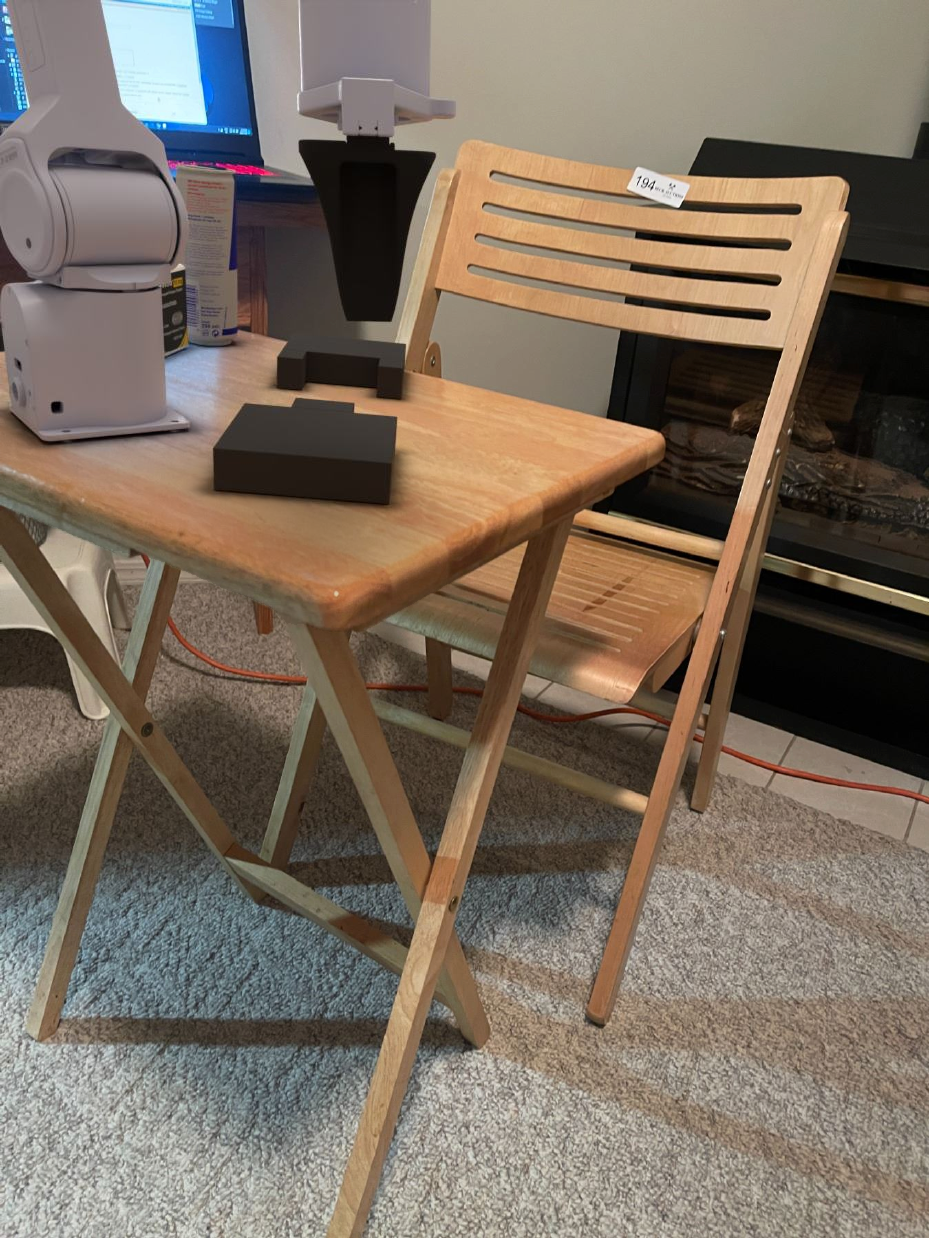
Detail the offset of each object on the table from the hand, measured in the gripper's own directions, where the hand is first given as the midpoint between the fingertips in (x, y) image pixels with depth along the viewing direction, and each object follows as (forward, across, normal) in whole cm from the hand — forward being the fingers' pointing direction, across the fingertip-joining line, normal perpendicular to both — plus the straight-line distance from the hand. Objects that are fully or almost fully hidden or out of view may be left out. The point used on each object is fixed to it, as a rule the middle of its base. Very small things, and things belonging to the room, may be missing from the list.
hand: (368, 312), depth 46 cm
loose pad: (+10, +11, +3) cm, 15 cm away
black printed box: (+8, +39, +20) cm, 44 cm away
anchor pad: (+9, +34, +2) cm, 35 cm away
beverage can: (+8, +45, +14) cm, 48 cm away
